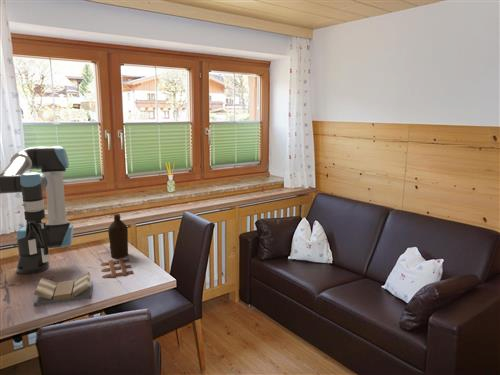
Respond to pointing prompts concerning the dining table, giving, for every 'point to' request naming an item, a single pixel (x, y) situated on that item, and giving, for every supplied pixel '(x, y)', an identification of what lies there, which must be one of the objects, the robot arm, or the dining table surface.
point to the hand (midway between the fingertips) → (39, 257)
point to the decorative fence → (116, 268)
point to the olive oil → (118, 238)
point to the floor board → (50, 301)
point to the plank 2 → (81, 283)
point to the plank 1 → (45, 288)
